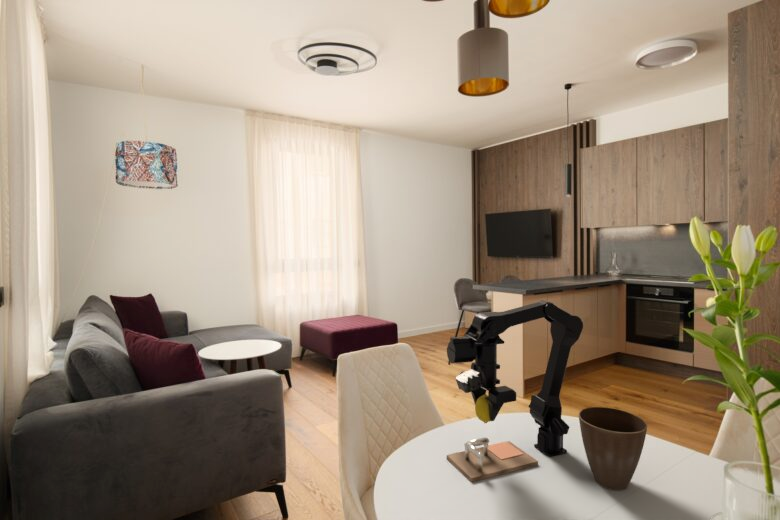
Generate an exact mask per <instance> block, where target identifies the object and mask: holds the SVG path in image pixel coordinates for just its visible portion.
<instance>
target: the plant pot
mask: <svg viewBox="0 0 780 520" xmlns="http://www.w3.org/2000/svg"><path fill="white" fill-rule="evenodd" d="M578 421H579V427H580V432H581V434H580V435H581V439H582V443H583V447H584V452H585V455H586V460H587V462H588V465H589V468H590V471H591V473H592V476H593V479H594V481H595V482H596V483H597V484H598V485H600V486H601V487H604V488H606V489H609V490H612V491H622V490H626V489H627V488H628V487H629V484H630V482H631V480H632V479H633V476H634V474H635V471H636V470H637V467H638V465H639V463H640V459H641V455H642V452H643V449H644V444H645V440H646V436H647V431H648V423H647V422H646V421H645V420H644V419H643V418H642V417H640V416H638V415H636V414H634V413H631V412H628V411H626V410H621V409H617V408H613V407H607V406H606V407H604V406H591V407H586V408H582V409H581V410H580V411H579V413H578Z"/></svg>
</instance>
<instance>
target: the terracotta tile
mask: <svg viewBox="0 0 780 520" xmlns="http://www.w3.org/2000/svg"><path fill="white" fill-rule="evenodd" d="M488 450H489V451H490V452H491V453H493V454H494V455H495V456H497V457H498V458H499V459H500V460H503V459H507V458H512V457H516V456H520V455H524V454H523V453H522V452H521V451H519V450H518V449H516V448H515V447H513V446H512V445H511V444H509V443H508V442H507V441H503V442H497V443H493V444H490V445H489V444H488Z"/></svg>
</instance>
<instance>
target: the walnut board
mask: <svg viewBox="0 0 780 520" xmlns="http://www.w3.org/2000/svg"><path fill="white" fill-rule="evenodd" d="M506 442H508V443H509V444H511V445H512V446H513V447H515V448H516V449H518V450H519V451H521V452H522V453H523V454H524V455H520V456H516V457H512V458H507V459H503V460H500V459H499V458H498V457H497V456H495V455H494V454H493V453H491V452H490V451H489V450H488V456H483V471H482V472H479V471H478V457H477V456H475V455H474V454H473V453H472V452H471V451H470V456H469V460H465V450H463V451H458V452H454V453H449V454H446V460H447V461H449V463H451V464H452V465H453V466H454V468H456V469H457V470H458V471H459V472H460V473H461V474H462V475H463V476H464V477H465V478H466V479H467V480H468V481H469V482H471V483H473V482H477V481H480V480H485V479H488V478H493V477H496V476H499V475H504V474H507V473H508V474H509V473H511V472H515V471H519V470H522V469H527V468H531V467H535V466H538V465H539V460H538V459H536V458H534V457H533V456H531V455H530V454H529V453H527V452H525V451H524V450H523V449H522V448H520V447H518V446H517V445H515V444H514V443H513V442H511V441H510V440H509V441H506ZM476 448H477V449H478V450H479V451H481V452H482V453H483V455H484V446H481V447H476Z"/></svg>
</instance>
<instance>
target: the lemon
mask: <svg viewBox="0 0 780 520" xmlns="http://www.w3.org/2000/svg"><path fill="white" fill-rule="evenodd" d="M486 397H489V396H488V394H487V393H486V394H484V395H482V396H480V397H479V398H478V399H477V401H476V405H475V404H474V405H475V406H474V412H475V415H476V417H477V418H478V420H480V421H481V422H483V423H484V424H487V423H489V422H491V421H490V416H489V404H488V402H487V401H486V400H485V399H484V398H486Z"/></svg>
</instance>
